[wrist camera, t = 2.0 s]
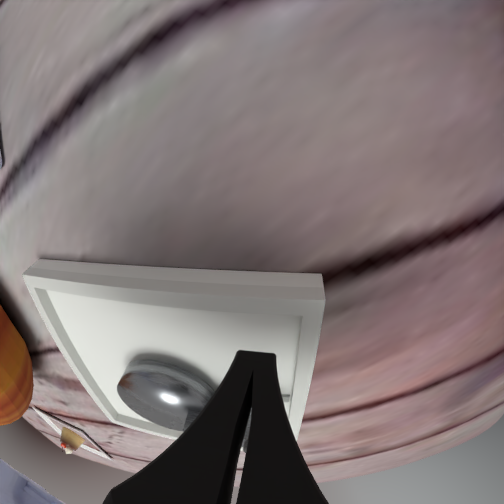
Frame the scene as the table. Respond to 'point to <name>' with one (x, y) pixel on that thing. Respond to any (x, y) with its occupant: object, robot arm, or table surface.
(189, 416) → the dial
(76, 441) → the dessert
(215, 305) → the board
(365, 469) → the table surface
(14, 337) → the pumpkin
